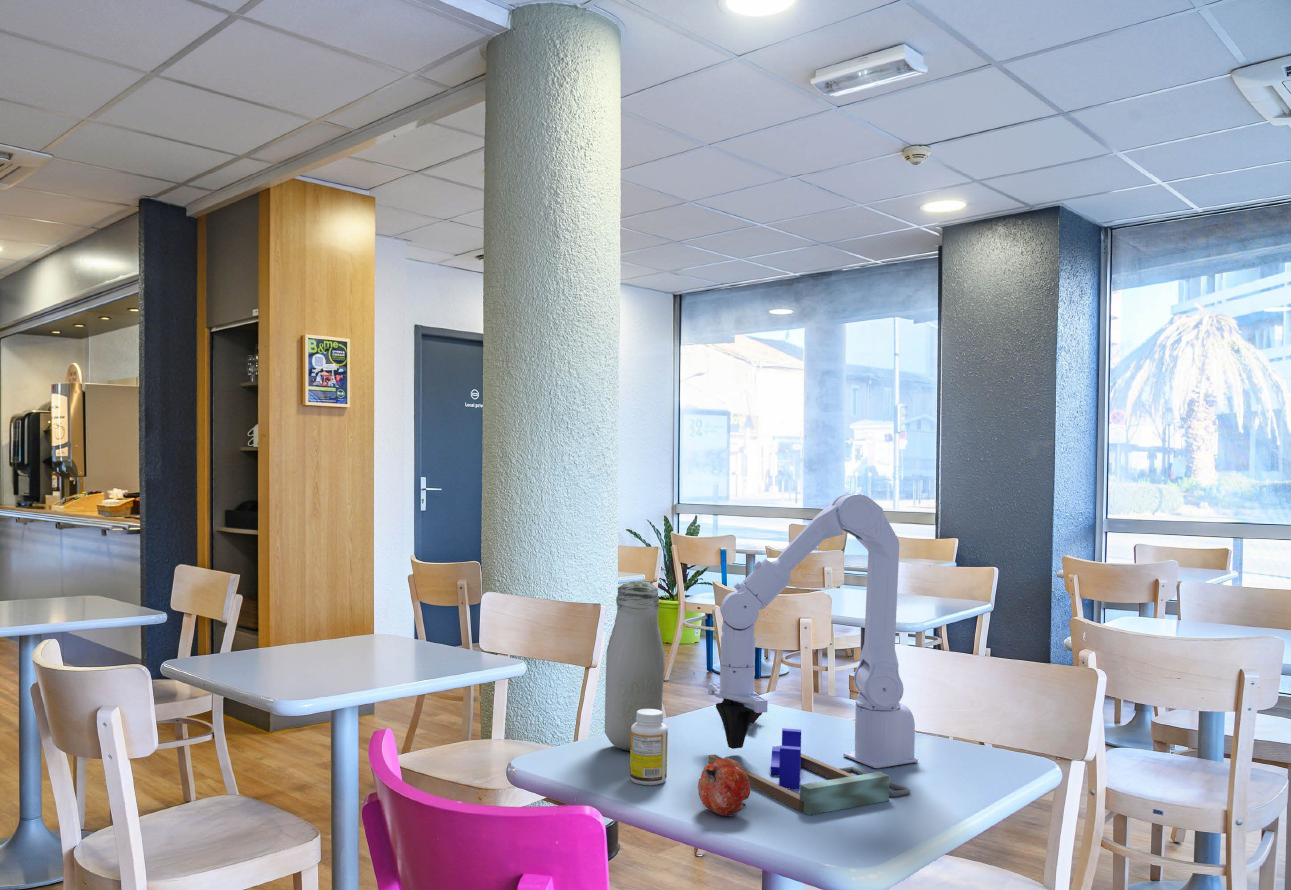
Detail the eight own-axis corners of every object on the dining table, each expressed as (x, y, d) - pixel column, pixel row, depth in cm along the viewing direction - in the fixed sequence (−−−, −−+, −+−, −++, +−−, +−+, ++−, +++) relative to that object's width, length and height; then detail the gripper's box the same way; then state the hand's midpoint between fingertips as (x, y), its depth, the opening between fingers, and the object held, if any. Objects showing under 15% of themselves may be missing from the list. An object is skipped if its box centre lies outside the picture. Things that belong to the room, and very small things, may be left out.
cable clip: (772, 765, 148) (773, 727, 148) (800, 767, 147) (801, 729, 147) (768, 788, 136) (769, 747, 136) (799, 790, 135) (800, 749, 135)
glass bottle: (610, 758, 148) (615, 584, 150) (598, 741, 158) (603, 578, 160) (669, 755, 150) (673, 584, 152) (653, 739, 160) (658, 578, 162)
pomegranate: (717, 816, 129) (672, 781, 125) (746, 772, 131) (703, 736, 127) (747, 840, 123) (701, 804, 119) (778, 793, 125) (733, 756, 121)
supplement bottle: (645, 772, 141) (647, 705, 142) (674, 780, 138) (675, 711, 138) (621, 780, 137) (623, 711, 138) (650, 789, 133) (652, 717, 134)
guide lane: (781, 754, 153) (782, 733, 153) (889, 800, 131) (889, 775, 132) (708, 764, 146) (708, 742, 146) (808, 815, 124) (809, 788, 124)
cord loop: (852, 770, 145) (852, 765, 145) (911, 794, 134) (911, 789, 134) (834, 772, 144) (834, 768, 144) (892, 797, 133) (892, 792, 133)
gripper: (694, 658, 157) (691, 738, 157) (742, 674, 145) (740, 761, 144) (728, 655, 161) (726, 734, 160) (778, 671, 148) (776, 756, 147)
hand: (735, 747), depth 152 cm, fingers closed
